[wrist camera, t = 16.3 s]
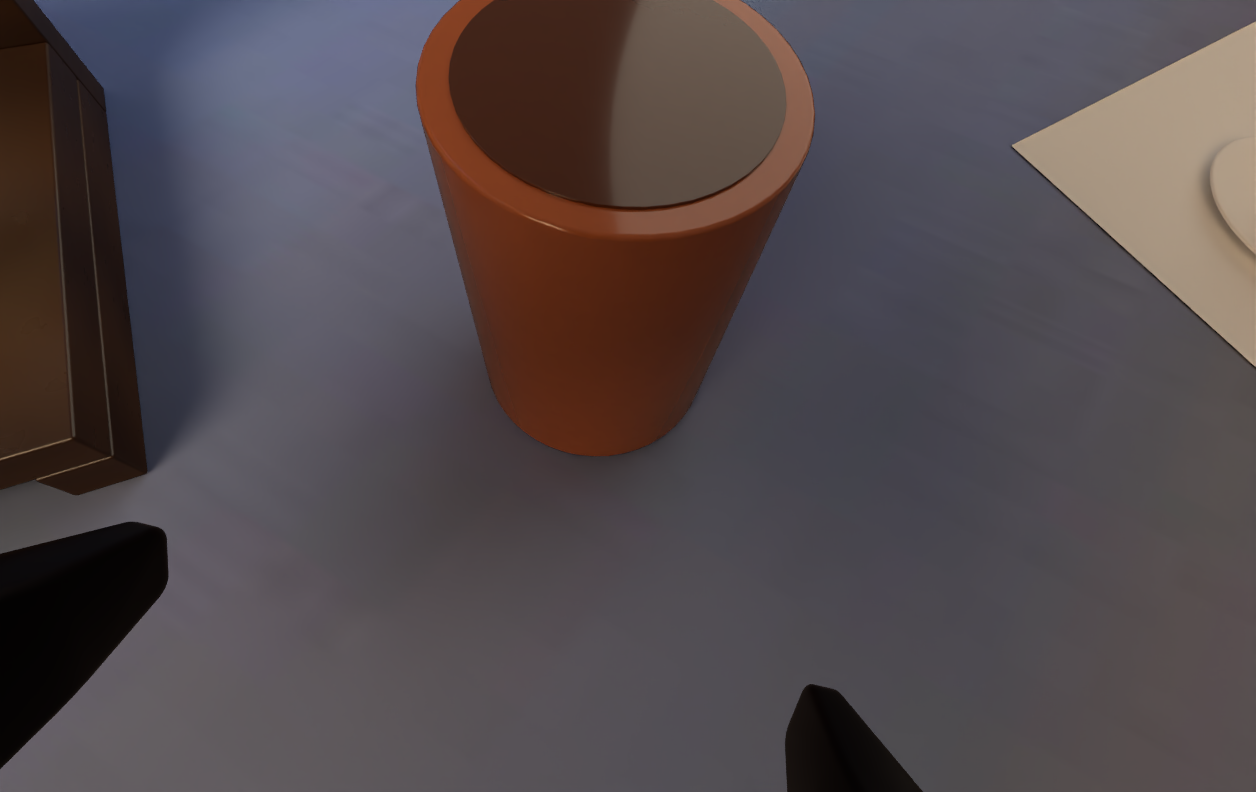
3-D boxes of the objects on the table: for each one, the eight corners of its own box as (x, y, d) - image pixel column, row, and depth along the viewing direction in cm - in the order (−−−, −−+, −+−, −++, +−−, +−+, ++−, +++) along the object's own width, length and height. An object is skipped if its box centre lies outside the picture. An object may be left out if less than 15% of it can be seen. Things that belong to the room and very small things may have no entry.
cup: (570, 502, 16) (574, 314, 7) (445, 332, 17) (336, 27, 9) (744, 378, 18) (898, 123, 9) (616, 237, 19) (652, -84, 11)
